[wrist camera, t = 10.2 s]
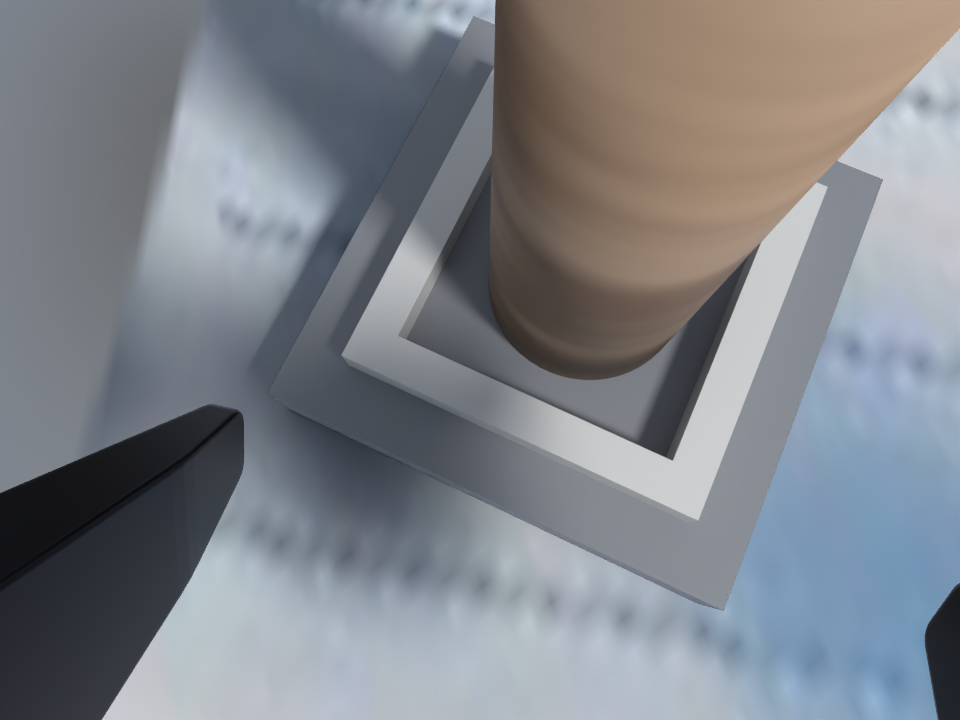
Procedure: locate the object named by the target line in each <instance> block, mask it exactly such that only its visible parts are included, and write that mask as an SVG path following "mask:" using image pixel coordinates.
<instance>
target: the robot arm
mask: <svg viewBox="0 0 960 720" xmlns="http://www.w3.org/2000/svg"><path fill="white" fill-rule="evenodd" d="M243 464H244V420H243V416H242V414H241V412H239V411H238V410H236V409H232V408H228V407H224V406H219V405H215V404H209V405H206V406H203V407H201V408H198V409H196V410H194V411H191V412H189V413H187V414H184V415H182V416H179V417H177V418H175V419H172V420H170V421H168V422H165V423H163V424H161V425H158V426H156V427H154V428H151V429H149V430H147V431H144V432H142V433H140V434H137V435H135V436H133V437H130V438H128V439H126V440H123V441H121V442H119V443H116V444H114V445H112V446H109V447H107V448H105V449H102V450H100V451H98V452H95V453H93V454H91V455H88V456H86V457H84V458H81V459H79V460H77V461H74V462H72V463H70V464H67V465H65V466H63V467H60V468H58V469H56V470H53V471H51V472H48V473H46V474H44V475H41V476H39V477H37V478H35V479H32V480H30V481H28V482H25V483H23V484H20V485H18V486H16V487H13V488H11V489H9V490H6V491H5V492H2V493H0V720H102V718H103V717H104V715H105V714H106V712H107V711H108V709H109V707H110V706H111V704H112V703H113V701H114V700H115V698H116V696H117V695H118V693H119V692H120V690H121V689H122V687H123V685H124V684H125V682H126V681H127V679H128V678H129V676H130V674H131V673H132V671H133V670H134V668H135V667H136V665H137V663H138V662H139V660H140V659H141V657H142V656H143V654H144V652H145V651H146V649H147V648H148V646H149V644H150V643H151V641H152V640H153V638H154V637H155V635H156V633H157V632H158V630H159V629H160V627H161V626H162V624H163V622H164V621H165V619H166V618H167V616H168V615H169V613H170V611H171V610H172V608H173V607H174V605H175V604H176V602H177V600H178V599H179V597H180V596H181V594H182V592H183V591H184V589H185V587H186V586H187V584H188V582H189V581H190V579H191V577H192V575H193V573H194V571H195V569H196V567H197V565H198V563H199V561H200V559H201V557H202V555H203V553H204V551H205V549H206V547H207V545H208V543H209V541H210V539H211V537H212V535H213V533H214V530H215V528H216V526H217V524H218V522H219V520H220V518H221V516H222V514H223V512H224V510H225V508H226V506H227V504H228V502H229V500H230V497H231V495H232V493H233V491H234V489H235V487H236V485H237V483H238V481H239V479H240V476H241V473H242V470H243ZM925 648H926V654H927V660H928V666H929V671H930V677H931V683H932V689H933V695H934V700H935V706H936V712H937V718H938V720H960V583H959V584H957V585H956V586H955V587H954V588H953V590H952V591H951V593H950V594H949V595H948V597H947V598H946V600H945V601H944V602H943V604H942V605H941V607H940V608H939V609H938V611H937V612H936V614H935V615H934V616H933V618H932V619H931V621H930V622H929V624H928V626H927V629H926V633H925Z"/></svg>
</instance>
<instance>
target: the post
mask: <svg viewBox="0 0 960 720" xmlns="http://www.w3.org/2000/svg"><path fill="white" fill-rule="evenodd" d="M959 28H960V0H496V5H495V46H494V88H493V129H492V170H491V211H490V253H489V296H490V302H491V306H492V310H493V313H494V316H495V318H496V321H497V323H498V325H499V327H500V329H501V331H502V332H503V334H504V335H505V337H506V338H507V339H508V341H509V342H510V344H511V345H512V346H513V347H514V348H515V349H516V350H517V351H518V352H519V353H520V354H521V355H523V356H524V357H525V358H526V359H528V360H529V361H530V362H532V363H533V364H535V365H537V366H538V367H540V368H542V369H544V370H546V371H548V372H551V373H553V374H556V375H559V376H563V377H566V378H572V379H578V380H601V379H608V378H612V377H617V376H620V375H623V374H626V373H628V372H631V371H633V370H635V369H637V368H639V367H640V366H642V365H644V364H645V363H646V362H648V361H649V360H651V359H652V358H653V357H654V356H655V355H656V354H657V353H658V352H659V351H660V350H661V349H662V348H663V347H664V346H665V345H666V344H667V343H668V342H669V341H670V340H671V339H672V338H673V337H674V335H675V334H676V333H677V332H678V331H679V330H680V329H681V328H682V327H683V326H684V325H685V324H686V323H687V321H688V320H689V319H690V318H691V317H692V316H693V315H694V314H695V313H696V312H697V311H698V310H699V309H700V307H701V306H702V305H703V304H704V303H705V302H706V301H707V300H708V299H709V298H710V297H711V296H712V295H713V293H714V292H715V291H716V290H717V289H718V288H719V287H720V286H721V285H722V284H723V283H724V282H725V281H726V279H727V278H728V277H729V276H730V275H731V274H732V273H733V272H734V271H735V270H736V269H737V268H738V267H739V265H740V264H741V263H742V262H743V261H744V260H745V259H746V258H747V257H748V256H749V255H750V254H751V253H752V251H753V250H754V249H755V248H756V247H757V246H758V245H759V244H760V243H761V242H762V241H763V240H764V239H765V237H766V236H767V235H768V234H769V233H770V232H771V231H772V230H773V229H774V228H775V227H776V226H777V225H778V223H779V222H780V221H781V220H782V219H783V218H784V217H785V216H786V215H787V214H788V213H789V212H790V211H791V209H792V208H793V207H794V206H795V205H796V204H797V203H798V202H799V201H800V200H801V199H802V198H803V197H804V195H805V194H806V193H807V192H808V191H809V190H810V189H811V188H812V187H813V186H814V185H815V184H816V183H817V181H818V180H819V179H820V178H821V177H822V176H823V175H824V174H825V173H826V172H827V171H828V170H829V168H830V167H831V166H832V165H833V164H834V163H835V162H836V161H837V160H838V159H839V158H840V157H841V156H842V154H843V153H844V152H845V151H846V150H847V149H848V148H849V147H850V146H851V145H852V144H853V143H854V142H855V140H856V139H857V138H858V137H859V136H860V135H861V134H862V133H863V132H864V131H865V130H866V129H867V128H868V126H869V125H870V124H871V123H872V122H873V121H874V120H875V119H876V118H877V117H878V116H879V115H880V114H881V112H882V111H883V110H884V109H885V108H886V107H887V106H888V105H889V104H890V103H891V102H892V101H893V100H894V98H895V97H896V96H897V95H898V94H899V93H900V92H901V91H902V90H903V89H904V88H905V87H906V86H907V84H908V83H909V82H910V81H911V80H912V79H913V78H914V77H915V76H916V75H917V74H918V73H919V72H920V70H921V69H922V68H923V67H924V66H925V65H926V64H927V63H928V62H929V61H930V60H931V59H932V58H933V56H934V55H935V54H936V53H937V52H938V51H939V50H940V49H941V48H942V47H943V46H944V45H945V44H946V42H947V41H948V40H949V39H950V38H951V37H952V36H953V35H954V34H955V33H956V32H957V31H958V30H959Z"/></svg>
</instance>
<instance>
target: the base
mask: <svg viewBox="0 0 960 720" xmlns="http://www.w3.org/2000/svg"><path fill="white" fill-rule="evenodd" d="M494 46H495V25H494V24H492V23H489V22H487V21H484V20H482V19H479V18H477V17H474V16H473V18H472V20H471V22H470V24H469V26H468V27H467V29H466V31H465V33H464V35H463V37H462V38H461V40H460V42H459V44H458V46H457V47H456V49H455V51H454V53H453V55H452V57H451V58H450V60H449V62H448V64H447V66H446V68H445V69H444V71H443V73H442V75H441V77H440V79H439V80H438V82H437V84H436V86H435V88H434V89H433V91H432V93H431V95H430V97H429V99H428V100H427V102H426V104H425V106H424V108H423V110H422V111H421V113H420V115H419V117H418V119H417V121H416V122H415V124H414V126H413V128H412V130H411V131H410V133H409V135H408V137H407V139H406V141H405V142H404V144H403V146H402V148H401V150H400V152H399V153H398V155H397V157H396V159H395V161H394V163H393V164H392V166H391V168H390V170H389V172H388V173H387V175H386V177H385V179H384V181H383V183H382V184H381V186H380V188H379V190H378V192H377V194H376V195H375V197H374V199H373V201H372V203H371V205H370V206H369V208H368V210H367V212H366V214H365V215H364V217H363V219H362V221H361V223H360V225H359V226H358V228H357V230H356V232H355V234H354V236H353V237H352V239H351V241H350V243H349V245H348V247H347V248H346V250H345V252H344V254H343V256H342V257H341V259H340V261H339V263H338V265H337V267H336V268H335V270H334V272H333V274H332V276H331V278H330V279H329V281H328V283H327V285H326V287H325V288H324V290H323V292H322V294H321V296H320V298H319V299H318V301H317V303H316V305H315V307H314V309H313V310H312V312H311V314H310V316H309V318H308V320H307V321H306V323H305V325H304V327H303V329H302V330H301V332H300V334H299V336H298V338H297V340H296V341H295V343H294V345H293V347H292V349H291V351H290V352H289V354H288V356H287V358H286V360H285V362H284V363H283V365H282V367H281V369H280V371H279V372H278V374H277V376H276V378H275V380H274V382H273V383H272V385H271V387H270V389H269V391H268V393H267V394H268V395H269V396H270V397H272V398H273V399H275V400H276V401H278V402H279V403H281V404H282V405H283V406H285V407H286V408H288V409H290V410H292V411H294V412H296V413H298V414H300V415H302V416H305V417H307V418H309V419H311V420H313V421H315V422H317V423H319V424H321V425H324V426H326V427H328V428H330V429H332V430H334V431H336V432H338V433H340V434H342V435H345V436H347V437H349V438H351V439H353V440H355V441H357V442H359V443H361V444H363V445H366V446H368V447H370V448H372V449H374V450H376V451H378V452H380V453H382V454H385V455H387V456H389V457H391V458H393V459H395V460H397V461H399V462H401V463H403V464H406V465H408V466H410V467H412V468H414V469H416V470H418V471H420V472H422V473H424V474H427V475H429V476H431V477H433V478H435V479H437V480H439V481H441V482H443V483H446V484H448V485H450V486H452V487H454V488H456V489H458V490H460V491H462V492H464V493H467V494H469V495H471V496H473V497H475V498H477V499H479V500H481V501H483V502H485V503H488V504H490V505H492V506H494V507H496V508H498V509H500V510H502V511H504V512H506V513H509V514H511V515H513V516H515V517H517V518H519V519H521V520H523V521H525V522H528V523H530V524H532V525H534V526H536V527H538V528H540V529H542V530H544V531H546V532H549V533H551V534H553V535H555V536H557V537H559V538H561V539H563V540H565V541H567V542H570V543H572V544H574V545H576V546H578V547H580V548H582V549H584V550H586V551H589V552H591V553H593V554H595V555H597V556H599V557H601V558H603V559H605V560H607V561H610V562H612V563H614V564H616V565H618V566H620V567H622V568H624V569H626V570H628V571H631V572H633V573H635V574H637V575H639V576H641V577H643V578H645V579H647V580H650V581H652V582H654V583H656V584H658V585H660V586H662V587H664V588H666V589H668V590H671V591H673V592H675V593H677V594H679V595H681V596H683V597H685V598H687V599H689V600H692V601H694V602H696V603H698V604H701V605H704V606H708V607H712V608H715V609H719V610H723V611H724V609H725V606H726V603H727V600H728V598H729V595H730V592H731V590H732V587H733V584H734V581H735V579H736V576H737V573H738V571H739V568H740V565H741V563H742V560H743V557H744V554H745V552H746V549H747V546H748V544H749V541H750V538H751V535H752V533H753V530H754V527H755V525H756V522H757V519H758V517H759V514H760V511H761V508H762V506H763V503H764V500H765V498H766V495H767V492H768V489H769V487H770V484H771V481H772V479H773V476H774V473H775V471H776V468H777V465H778V462H779V460H780V457H781V454H782V452H783V449H784V446H785V443H786V441H787V438H788V435H789V433H790V430H791V427H792V425H793V422H794V419H795V416H796V414H797V411H798V408H799V406H800V403H801V400H802V397H803V395H804V392H805V389H806V387H807V384H808V381H809V379H810V376H811V373H812V370H813V368H814V365H815V362H816V360H817V357H818V354H819V351H820V349H821V346H822V343H823V341H824V338H825V335H826V333H827V330H828V327H829V324H830V322H831V319H832V316H833V314H834V311H835V308H836V305H837V303H838V300H839V297H840V295H841V292H842V289H843V287H844V284H845V281H846V278H847V276H848V273H849V270H850V268H851V265H852V262H853V259H854V257H855V254H856V251H857V249H858V246H859V243H860V240H861V238H862V235H863V232H864V230H865V227H866V224H867V222H868V219H869V216H870V213H871V211H872V208H873V205H874V203H875V200H876V197H877V194H878V192H879V189H880V186H881V184H882V181H883V179H880V178H878V177H875V176H873V175H870V174H868V173H865V172H863V171H860V170H858V169H855V168H853V167H850V166H848V165H845V164H843V163H840V162H838V161H836V162H835V163H834V164H833V165H832V166H831V167H830V168H829V170H828V171H827V172H826V173H825V174H824V175H823V176H822V177H821V178H820V179H819V180H818V181H817V183H816V184H815V185H814V186H813V187H812V188H811V189H810V190H809V191H808V192H807V193H806V194H805V195H804V197H803V198H802V199H801V200H800V201H799V202H798V203H797V204H796V205H795V206H794V207H793V208H792V209H791V211H790V212H789V213H788V214H787V215H786V216H785V217H784V218H783V219H782V220H781V221H780V222H779V223H778V225H777V226H776V227H775V228H774V229H773V230H772V231H771V232H770V233H769V234H768V235H767V236H766V237H765V239H764V240H763V241H762V242H761V243H760V244H759V245H758V246H757V247H756V248H755V249H754V250H753V251H752V253H751V254H750V255H749V256H748V257H747V258H746V259H745V260H744V261H743V262H742V263H741V264H740V265H739V267H738V268H737V269H736V270H735V271H734V272H733V273H732V274H731V275H730V276H729V277H728V278H727V279H726V281H725V282H724V283H723V284H722V285H721V286H720V287H719V288H718V289H717V290H716V291H715V292H714V293H713V295H712V296H711V297H710V298H709V299H708V300H707V301H706V302H705V303H704V304H703V305H702V306H701V307H700V309H699V310H698V311H697V312H696V313H695V314H694V315H693V316H692V317H691V318H690V319H689V320H688V321H687V323H686V324H685V325H684V326H683V327H682V328H681V329H680V330H679V331H678V332H677V333H676V334H675V335H674V337H673V338H672V339H671V340H670V341H669V342H668V343H667V344H666V345H665V346H664V347H663V348H662V349H661V350H660V351H659V352H658V353H657V354H656V355H655V356H654V357H653V358H652V359H651V360H649V361H648V362H646V363H645V364H644V365H642V366H640V367H639V368H637V369H635V370H633V371H631V372H628V373H626V374H623V375H620V376H617V377H612V378H608V379H601V380H578V379H572V378H566V377H563V376H559V375H556V374H553V373H551V372H548V371H546V370H544V369H542V368H540V367H538V366H537V365H535V364H533V363H532V362H530V361H529V360H528V359H526V358H525V357H524V356H523V355H521V354H520V353H519V352H518V351H517V350H516V349H515V348H514V347H513V346H512V345H511V344H510V342H509V341H508V339H507V338H506V337H505V335H504V334H503V332H502V331H501V329H500V327H499V325H498V323H497V321H496V318H495V316H494V313H493V310H492V306H491V302H490V296H489V253H490V211H491V170H492V129H493V88H494Z"/></svg>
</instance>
